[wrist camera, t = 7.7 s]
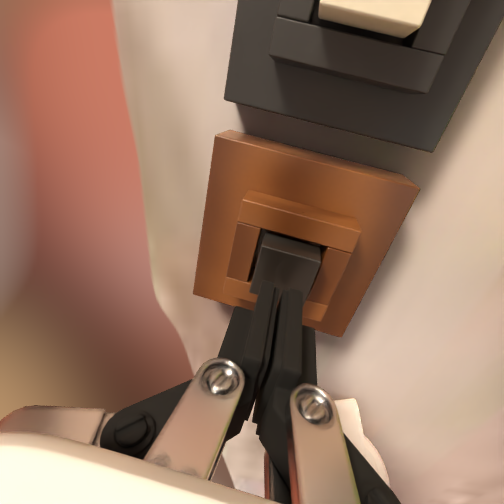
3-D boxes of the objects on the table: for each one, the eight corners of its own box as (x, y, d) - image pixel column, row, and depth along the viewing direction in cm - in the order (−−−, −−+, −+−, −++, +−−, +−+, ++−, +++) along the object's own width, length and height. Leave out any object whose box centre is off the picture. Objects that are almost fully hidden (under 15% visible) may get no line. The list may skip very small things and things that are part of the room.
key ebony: (320, 246, 14) (321, 262, 13) (303, 290, 15) (302, 309, 14) (265, 231, 14) (261, 245, 13) (253, 276, 15) (248, 293, 14)
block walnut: (403, 174, 15) (435, 199, 12) (337, 309, 20) (344, 359, 17) (229, 129, 16) (203, 138, 12) (206, 272, 21) (182, 311, 17)
